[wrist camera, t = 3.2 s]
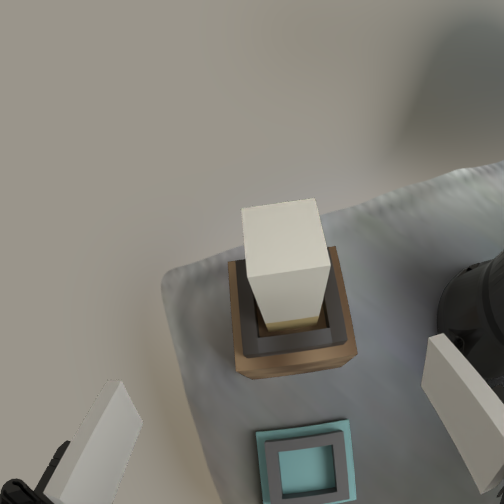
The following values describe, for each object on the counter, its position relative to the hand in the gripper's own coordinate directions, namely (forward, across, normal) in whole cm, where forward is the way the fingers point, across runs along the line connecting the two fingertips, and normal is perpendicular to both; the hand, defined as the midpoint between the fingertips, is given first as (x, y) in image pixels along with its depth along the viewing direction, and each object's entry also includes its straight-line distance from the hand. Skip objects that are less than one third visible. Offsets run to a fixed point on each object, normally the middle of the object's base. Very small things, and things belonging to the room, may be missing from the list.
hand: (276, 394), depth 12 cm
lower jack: (+10, +1, -22) cm, 24 cm away
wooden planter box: (+22, +1, -10) cm, 24 cm away
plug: (+14, +1, -3) cm, 15 cm away
